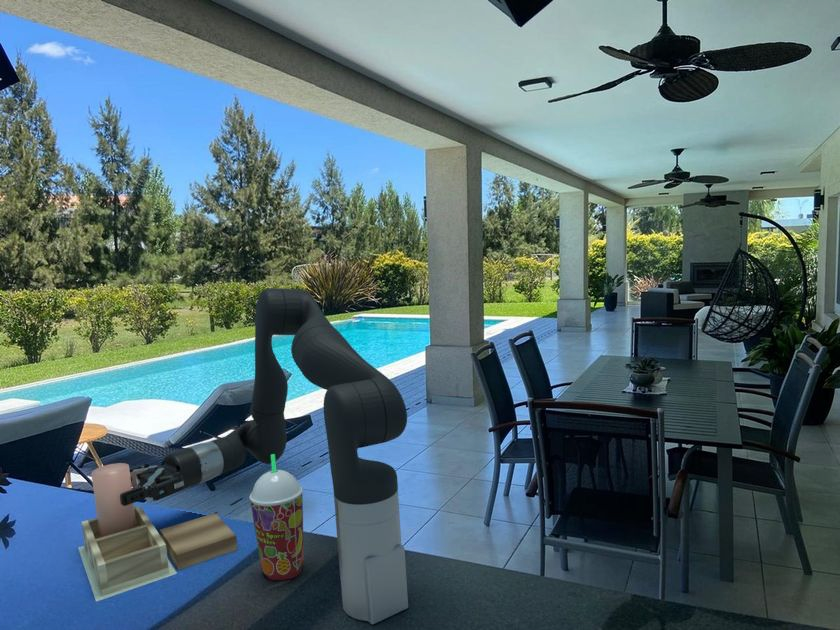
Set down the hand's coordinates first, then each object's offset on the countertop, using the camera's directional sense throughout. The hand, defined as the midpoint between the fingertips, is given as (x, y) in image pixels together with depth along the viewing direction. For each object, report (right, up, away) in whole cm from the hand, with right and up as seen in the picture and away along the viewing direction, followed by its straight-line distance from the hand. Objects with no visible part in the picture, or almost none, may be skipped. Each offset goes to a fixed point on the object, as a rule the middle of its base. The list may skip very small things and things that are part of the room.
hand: (110, 494), depth 109 cm
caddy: (+4, -11, -2) cm, 11 cm away
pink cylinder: (+1, -9, +2) cm, 10 cm away
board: (+15, -10, +1) cm, 18 cm away
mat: (+4, -11, -2) cm, 12 cm away
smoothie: (+33, -10, -9) cm, 35 cm away
